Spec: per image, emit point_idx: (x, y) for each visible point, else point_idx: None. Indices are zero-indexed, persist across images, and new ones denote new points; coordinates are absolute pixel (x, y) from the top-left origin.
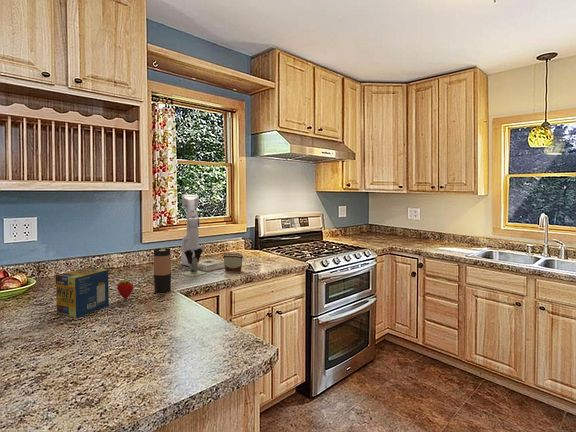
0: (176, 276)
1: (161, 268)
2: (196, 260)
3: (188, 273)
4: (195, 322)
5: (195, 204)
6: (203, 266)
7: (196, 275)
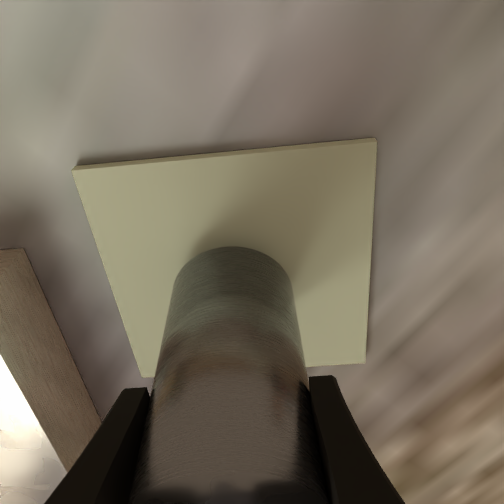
0: (486, 294)
1: None
2: (197, 405)
3: (307, 297)
4: None
5: None
6: (25, 356)
7: (278, 147)
